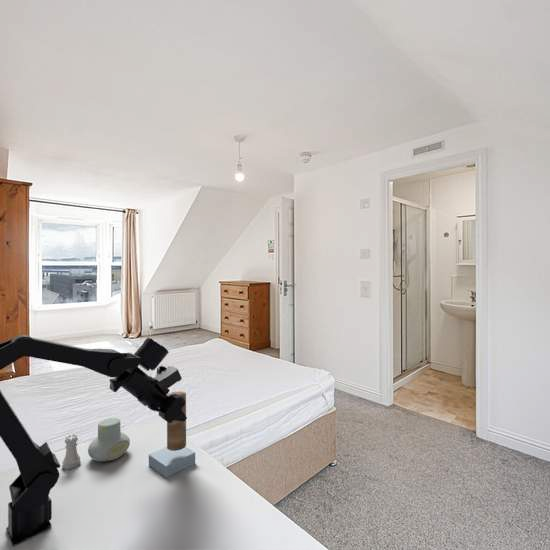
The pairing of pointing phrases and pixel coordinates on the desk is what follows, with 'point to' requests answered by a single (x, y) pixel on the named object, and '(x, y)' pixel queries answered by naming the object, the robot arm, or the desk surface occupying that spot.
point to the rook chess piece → (71, 453)
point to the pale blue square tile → (171, 460)
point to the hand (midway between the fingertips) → (181, 416)
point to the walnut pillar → (177, 429)
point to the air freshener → (109, 441)
